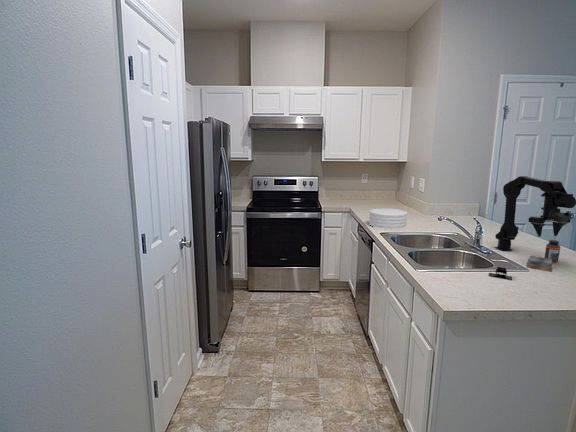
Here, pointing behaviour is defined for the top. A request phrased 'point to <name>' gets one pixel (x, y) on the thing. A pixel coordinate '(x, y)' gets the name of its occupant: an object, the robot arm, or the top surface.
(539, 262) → the plate
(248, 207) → the top surface
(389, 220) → the plate stack
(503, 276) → the black bar with hump
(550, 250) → the supplement bottle
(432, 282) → the top surface
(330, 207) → the top surface
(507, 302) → the top surface
